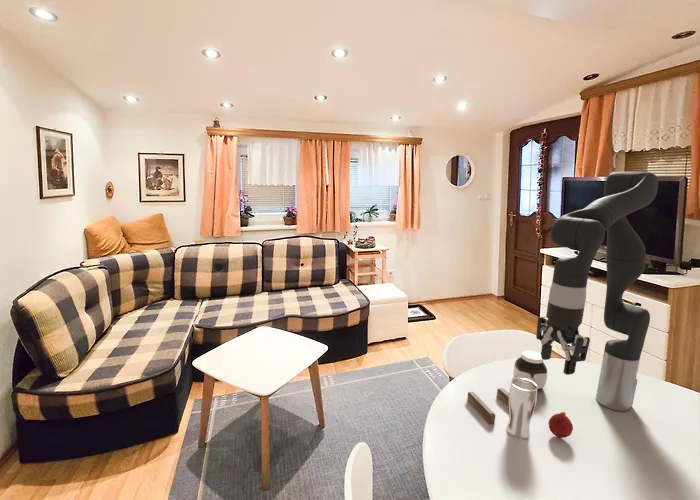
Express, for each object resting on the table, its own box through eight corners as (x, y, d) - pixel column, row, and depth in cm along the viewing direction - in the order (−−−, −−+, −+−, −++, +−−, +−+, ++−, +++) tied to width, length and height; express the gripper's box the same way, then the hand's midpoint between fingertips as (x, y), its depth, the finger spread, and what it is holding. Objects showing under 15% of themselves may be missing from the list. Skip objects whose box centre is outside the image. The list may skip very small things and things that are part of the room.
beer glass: (534, 442, 105) (541, 392, 102) (507, 438, 106) (513, 389, 103) (527, 426, 111) (534, 379, 108) (502, 422, 113) (508, 376, 110)
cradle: (501, 396, 126) (502, 387, 125) (526, 419, 114) (527, 409, 114) (467, 400, 123) (468, 391, 122) (488, 424, 111) (490, 414, 111)
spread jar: (539, 381, 136) (544, 351, 133) (551, 400, 125) (556, 367, 122) (504, 377, 137) (508, 347, 135) (512, 395, 126) (517, 363, 124)
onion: (561, 447, 103) (566, 421, 101) (542, 434, 108) (546, 408, 106) (575, 441, 106) (579, 415, 104) (555, 428, 111) (559, 403, 109)
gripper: (605, 312, 85) (593, 380, 88) (556, 291, 98) (548, 351, 102) (577, 314, 83) (566, 383, 86) (531, 293, 97) (523, 353, 100)
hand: (556, 365), depth 94 cm, fingers open, 7 cm apart
